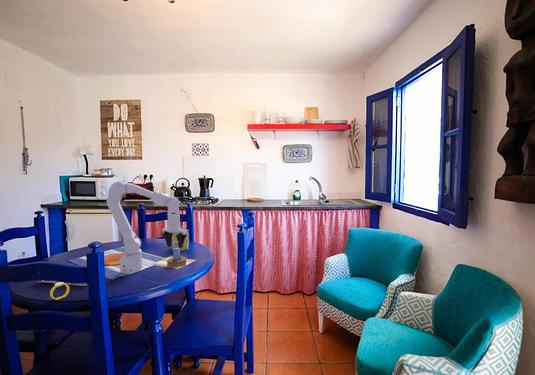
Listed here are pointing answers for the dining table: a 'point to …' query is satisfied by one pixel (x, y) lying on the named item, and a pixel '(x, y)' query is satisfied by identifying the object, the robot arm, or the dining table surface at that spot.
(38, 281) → the tube
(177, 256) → the peg
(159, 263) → the board
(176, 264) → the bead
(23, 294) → the dining table surface
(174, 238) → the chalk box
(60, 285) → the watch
